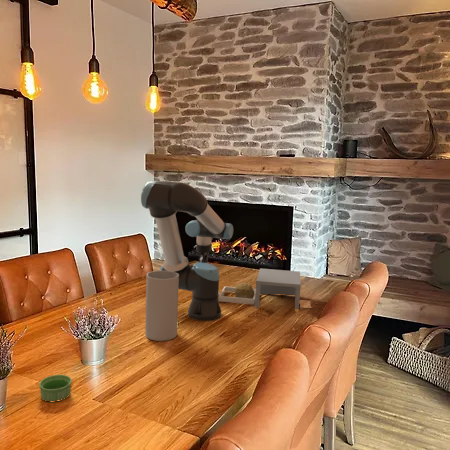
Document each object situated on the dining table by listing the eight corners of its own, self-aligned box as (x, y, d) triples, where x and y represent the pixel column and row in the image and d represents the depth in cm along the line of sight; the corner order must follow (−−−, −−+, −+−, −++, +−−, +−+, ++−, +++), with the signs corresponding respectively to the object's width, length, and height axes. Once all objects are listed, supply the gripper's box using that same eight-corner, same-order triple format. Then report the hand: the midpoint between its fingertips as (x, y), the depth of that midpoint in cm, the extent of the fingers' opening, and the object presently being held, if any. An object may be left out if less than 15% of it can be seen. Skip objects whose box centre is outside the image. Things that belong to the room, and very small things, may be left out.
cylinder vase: (147, 342, 172) (148, 279, 168) (143, 330, 184) (145, 271, 180) (179, 340, 176) (181, 278, 172) (174, 328, 188) (176, 270, 184)
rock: (241, 309, 225) (251, 294, 222) (227, 293, 231) (237, 279, 227) (252, 306, 233) (262, 292, 229) (238, 291, 238) (248, 277, 235)
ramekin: (75, 388, 138) (75, 374, 137) (66, 404, 129) (66, 390, 128) (45, 387, 137) (45, 374, 137) (34, 403, 129) (34, 389, 128)
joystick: (256, 293, 238) (258, 265, 236) (254, 304, 221) (255, 274, 218) (201, 288, 242) (202, 260, 240) (194, 298, 225) (195, 268, 223)
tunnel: (310, 297, 238) (312, 272, 235) (312, 313, 213) (314, 285, 211) (258, 292, 241) (260, 268, 239) (254, 307, 217) (256, 280, 215)
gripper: (208, 247, 221) (206, 293, 224) (213, 241, 237) (212, 284, 240) (193, 246, 222) (191, 292, 225) (199, 240, 238) (198, 283, 241)
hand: (202, 288), depth 233 cm, fingers closed on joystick, 3 cm apart
